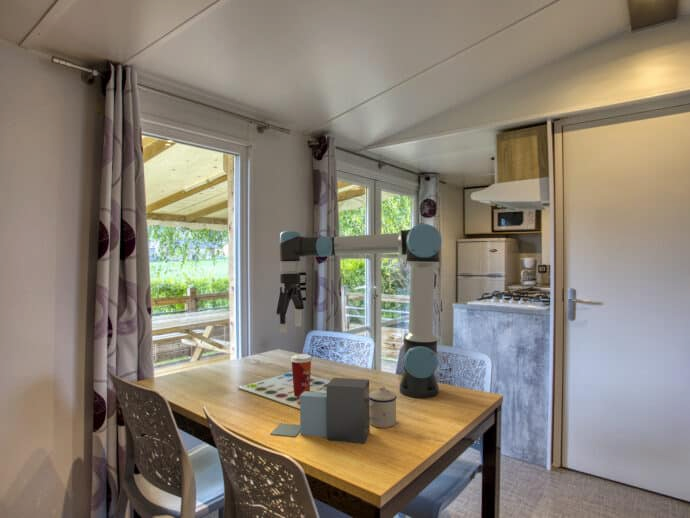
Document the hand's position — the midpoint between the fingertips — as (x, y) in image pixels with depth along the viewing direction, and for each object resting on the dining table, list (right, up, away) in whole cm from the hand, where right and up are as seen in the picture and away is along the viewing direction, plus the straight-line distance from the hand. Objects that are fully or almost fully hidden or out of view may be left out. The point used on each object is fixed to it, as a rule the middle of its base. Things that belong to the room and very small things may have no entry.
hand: (291, 329), depth 158 cm
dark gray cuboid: (+21, -27, -32) cm, 46 cm away
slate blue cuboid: (+14, -27, -30) cm, 43 cm away
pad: (+2, -27, -27) cm, 38 cm away
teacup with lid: (+31, -27, -23) cm, 47 cm away
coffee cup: (+3, -27, +5) cm, 27 cm away
